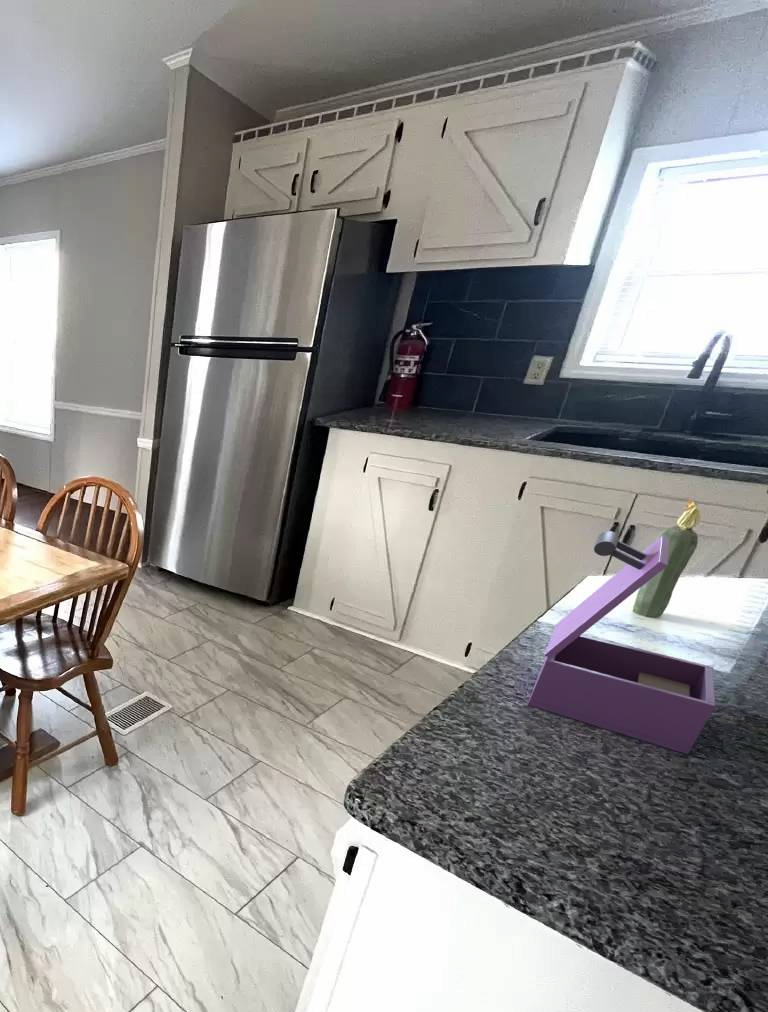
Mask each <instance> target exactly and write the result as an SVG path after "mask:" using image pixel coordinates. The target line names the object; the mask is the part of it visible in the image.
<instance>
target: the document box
mask: <svg viewBox="0 0 768 1012" xmlns="http://www.w3.org/2000/svg"><path fill="white" fill-rule="evenodd" d="M639 672H642V673H645V674H649V675H653V676H657V677H661V678H665V679H669V680H672V681H676V682H680V683H684V684H688V685H690V697H688V696H685V695H681V694H677V693H674V692H670V691H666V690H662V689H659V688H655V687H651V686H647V685H644V684H640V683H636V682H634V681H635V679H636V677H637V675H638V673H639ZM715 690H716V689H715V675H714V666H711V665H706V664H702V663H698V662H694V661H690V660H686V659H682V658H678V657H674V656H670V655H667V654H663V653H657V652H653V651H649V650H645V649H640V648H636V647H634V646H633V647H632V646H628V645H626V644H625V645H624V644H620V643H616V642H612V641H608V640H603V639H600V638H596V637H591V636H587V635H584V634H582V635H580V636H579V637H578V638H577V639H575V640H574V641H573V642H572V643H570V644H569V645H568V646H567V647H565V648H564V649H563V650H562V651H560V652H559V653H558V654H557V655H555V656H554V657H553V658H552V659H550V658H548V657H547V656H545V659H544V661H543V663H542V664H541V668H540V670H539V673H538V676H537V678H536V680H535V683H534V686H533V689H532V691H531V693H530V697H529V700H528V702H527V703H526V705H527V706H529V707H533V708H537V709H540V710H543V711H545V712H549V713H552V714H556V715H558V716H562V717H565V718H567V719H568V718H569V719H572V720H575V721H579V722H581V723H584V724H588V725H591V726H595V727H598V728H601V729H604V730H608V731H611V732H614V733H616V734H620V735H624V736H627V737H630V738H634V739H637V740H639V741H642V742H646V743H650V744H653V745H656V746H659V747H662V748H666V749H669V750H672V751H675V752H678V753H681V754H684V755H689V753H690V751H691V750H692V748H693V747H694V745H695V743H696V741H697V739H698V738H699V736H700V734H701V733H702V731H703V729H704V728H705V726H706V724H707V722H708V720H709V718H711V715H712V713H713V712H714V710H715V708H716V693H715V692H716V691H715Z"/></svg>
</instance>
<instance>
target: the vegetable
mask: <svg viewBox="0 0 768 1012" xmlns="http://www.w3.org/2000/svg"><path fill="white" fill-rule="evenodd" d="M698 505H699V504H698V503H697V502H696V501H694V500H691V499H689V500H688V504H686V506H685V507H684V508H683V510H685V511H684V512H683V513H682V514H681V515H680V517H679V518H678V519H677V525H673V526H670V527H668V528H666V529H664V530H663V531H662V532H660V533H659V534H658V536H657V537H656V538H655V540H654V542H655V541H656V540H657V539H658V538H660V537H661V536H664V537H666V538H669V552H668V565H667V566H666V567H665V568H664V569H663V570H661V571H660V572H659V573H658V574H656V575H655V576H654V577H653V578H651V579H650V580H649V581H648V582H646V583H645V584H644V585H643V586H641V587H640V588H639V589H638V590H637V594H636V598H635V601H634V603H633V606H632V612H633V613H635V614H636V615H638V616H642V617H645V618H652V619H657V618H660V617H662V616H663V614H664V612H665V611H666V609H667V608H668V606H669V604H670V602H671V598H672V595H673V592H674V590H675V588H676V585H677V583H678V581H679V579H680V578H681V575H682V573H683V571H684V570H685V568H687V565H688V563H689V561H690V560H691V558H692V556H693V555H694V553H695V551H696V549H697V546H698V542H699V540H698V539H699V537H698V534H697V532H695V530H694V529H693V528H695V527H697V526H698V525H699V523H700V522H701V512H700V510H699V508H698Z"/></svg>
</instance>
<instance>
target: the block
mask: <svg viewBox="0 0 768 1012" xmlns="http://www.w3.org/2000/svg"><path fill="white" fill-rule="evenodd" d="M634 682H636V683H640V684H644V685H647V686H651V687H655V688H659V689H662V690H666V691H670V692H674V693H677V694H681V695H685V696H688V697H690V685H688V684H684V683H680V682H676V681H672V680H669V679H665V678H661V677H657V676H653V675H649V674H645V673H642V672H639V673H638V675H637V677H636V679H635V681H634Z"/></svg>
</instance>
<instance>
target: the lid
mask: <svg viewBox="0 0 768 1012" xmlns="http://www.w3.org/2000/svg"><path fill="white" fill-rule="evenodd" d="M655 540H656V539H655ZM655 540H654V541H653V542H652V543H651V544H650V545H649V546H648V547H646V548H645V549H644V550H643V551H640V550H638V549H637V548H635V547H633V546H632V545H629V544H627V543H625V542H623V541H621V540H619V535H618V534H617V533H616V532H614V531H611V530H605V531H603V532H600V533H599V534H598V536H597V537H596V541H595V543H594V546H593V551H594V553H595V554H596V555H598V556H600V557H608V556H611V557H614V558H615V559H617V560H619V561H621V562H623V563H625V564H626V565H625V566H623V567H622V569H620V570H619V571H617V572H616V573H615V574H614V575H613V576H612V577H611V578H609V579H608V580H607V581H605V583H603V584H602V585H601V586H600V587H598V588H597V589H596V590H595V591H594V592H593V593H592V594H591V595H589V596H588V597H587V598H585V599H584V600H583V601H582V602H581V603H579V604H578V605H577V606H576V607H575V608H574V609H572V610H571V611H570V612H569V613H568V614H567V615H565V616H564V617H562V618H561V620H559V621H558V622H557V623H556V624H555V626H554V629H553V631H552V634H551V636H550V640H549V641H548V643H547V647H546V650H545V652H544V654H543V655H544V656H545V657H546V656H547V657H548V658H550V659H552V658H553V657H554V656H555V655H557V654H558V653H559V652H560V651H562V650H563V649H564V648H565V647H567V646H568V645H569V644H570V643H572V642H573V641H574V640H575V639H577V638H578V637H579V636H580V635H584V633H585V632H586V631H588V630H589V629H590V628H591V627H593V626H594V625H595V624H596V623H598V622H599V621H600V620H602V619H603V618H604V617H605V616H606V615H608V614H609V613H610V612H611V611H613V610H614V609H616V608H617V607H618V606H619V605H620V604H622V603H623V602H625V600H627V599H628V598H629V597H630V596H632V595H633V594H634V593H635V592H636V591H639V588H640V587H641V586H643V585H644V584H645V583H646V582H648V581H649V580H650V579H651V578H653V577H654V576H655V575H656V574H658V573H659V572H660V571H661V570H663V569H664V568H665V567H666V566H667V565H668V552H669V538H666V537H664V536H661V537H660V538H658V539H657V540H656V541H655Z"/></svg>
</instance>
